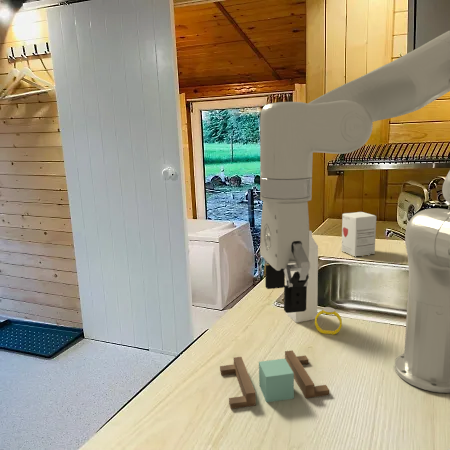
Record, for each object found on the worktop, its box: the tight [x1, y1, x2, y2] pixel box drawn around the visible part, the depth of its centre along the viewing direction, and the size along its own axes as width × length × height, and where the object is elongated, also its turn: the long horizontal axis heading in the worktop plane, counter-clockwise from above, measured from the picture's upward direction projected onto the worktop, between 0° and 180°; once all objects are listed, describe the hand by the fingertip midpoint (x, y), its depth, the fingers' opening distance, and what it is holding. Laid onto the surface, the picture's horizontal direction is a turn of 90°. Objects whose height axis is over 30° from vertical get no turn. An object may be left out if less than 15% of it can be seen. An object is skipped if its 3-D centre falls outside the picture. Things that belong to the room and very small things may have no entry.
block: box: [258, 358, 295, 403], centre depth 75 cm, size 5×5×5 cm
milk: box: [284, 230, 319, 323], centre depth 103 cm, size 6×6×22 cm
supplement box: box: [341, 211, 377, 258], centre depth 155 cm, size 9×9×15 cm
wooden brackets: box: [219, 349, 330, 410], centre depth 78 cm, size 18×12×2 cm
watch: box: [314, 306, 343, 336], centre depth 96 cm, size 6×3×6 cm, turn 72°
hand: (284, 298), depth 65 cm, fingers open, 9 cm apart
